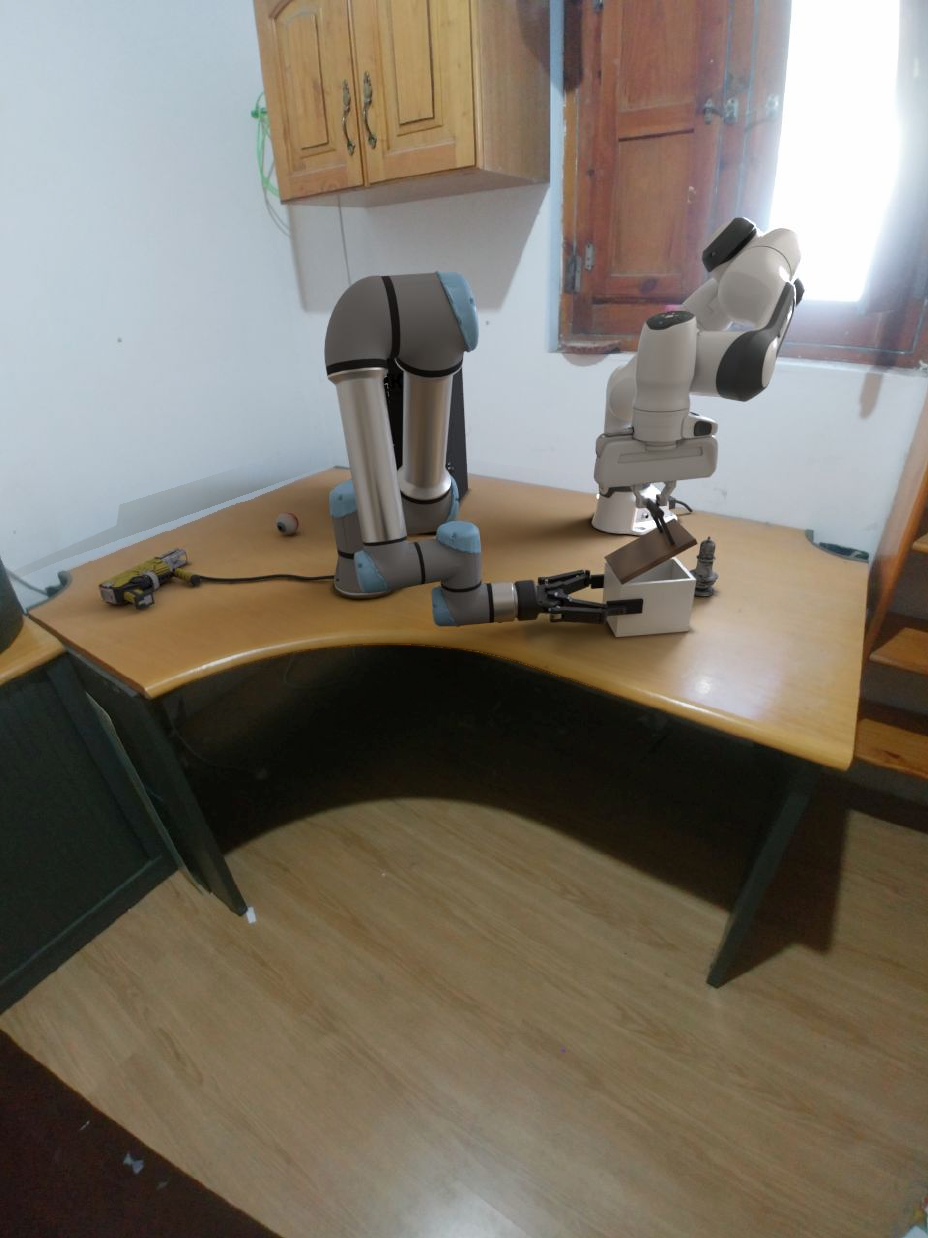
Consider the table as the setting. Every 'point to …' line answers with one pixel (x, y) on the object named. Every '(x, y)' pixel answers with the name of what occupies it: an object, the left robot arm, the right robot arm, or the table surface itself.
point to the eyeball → (287, 523)
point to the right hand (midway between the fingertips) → (650, 506)
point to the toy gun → (146, 580)
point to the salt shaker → (705, 569)
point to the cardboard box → (455, 428)
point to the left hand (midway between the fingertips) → (632, 592)
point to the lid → (650, 547)
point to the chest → (653, 599)
